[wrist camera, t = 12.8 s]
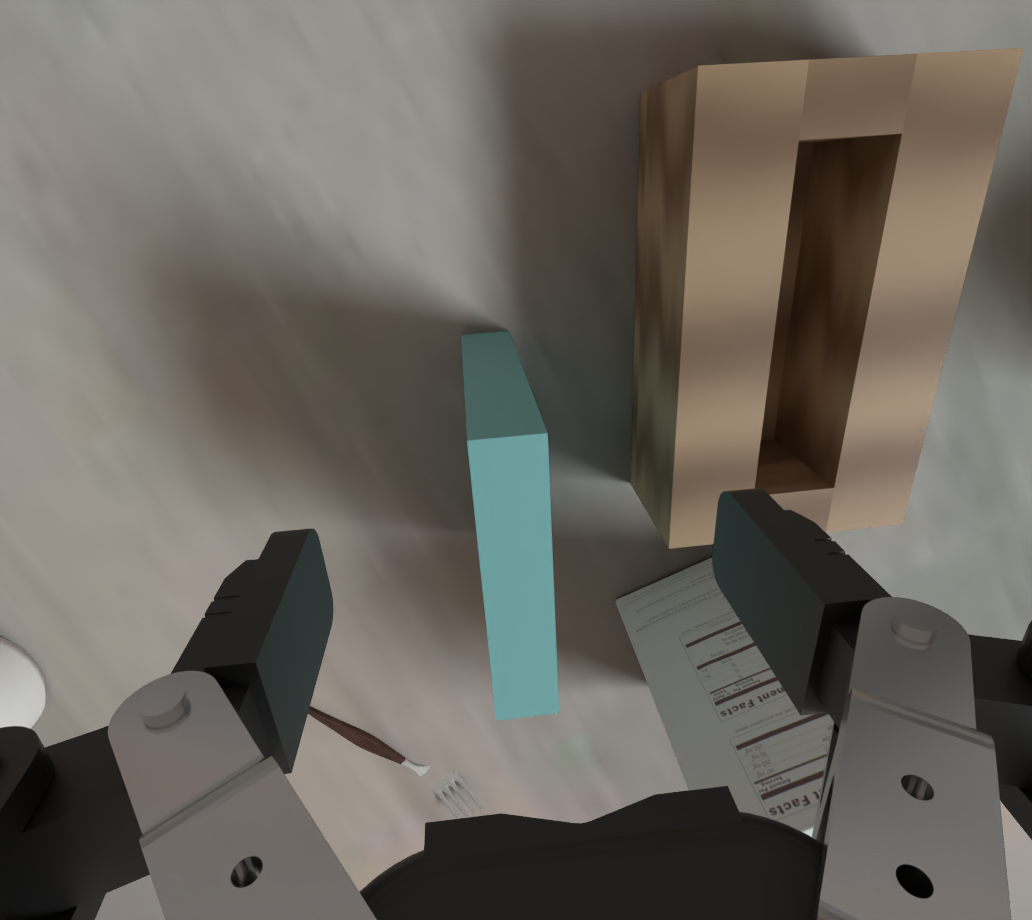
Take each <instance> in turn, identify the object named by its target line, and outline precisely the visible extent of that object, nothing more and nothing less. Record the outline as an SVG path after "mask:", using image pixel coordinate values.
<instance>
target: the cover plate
mask: <svg viewBox="0 0 1032 920" xmlns="http://www.w3.org/2000/svg"><path fill="white" fill-rule="evenodd" d="M461 347H462V364H463V381H464V398H465V415H466V432H467V446H468V455H469V465H470V475H471V484H472V494H473V503H474V513H475V523H476V532H477V542H478V551H479V561H480V571H481V580H482V590H483V600H484V609H485V619H486V628H487V638H488V648H489V657H490V667H491V676H492V686H493V696H494V705H495V715H496V721H498V720H506V719H514V718H522V717H530V716H539V715H547V714H555V713H559V698H558V674H557V649H556V625H555V600H554V576H553V551H552V526H551V502H550V477H549V453H548V433H547V430H546V427H545V425H544V422H543V419H542V417H541V414H540V412H539V409H538V406H537V404H536V401H535V398H534V396H533V393H532V391H531V388H530V385H529V383H528V380H527V377H526V375H525V372H524V370H523V367H522V364H521V362H520V359H519V356H518V354H517V351H516V348H515V346H514V343H513V341H512V338H511V335H510V333H509V331H501V332H489V333H476V334H464V335H461Z"/></svg>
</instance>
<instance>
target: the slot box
mask: <svg viewBox="0 0 1032 920" xmlns="http://www.w3.org/2000/svg"><path fill="white" fill-rule="evenodd" d="M1022 51H1023V48H1014V49H995V50H977V51H958V52H940V53H922V54H903V55H885V56H866V57H848V58H830V59H811V60H793V61H774V62H756V63H738V64H719V65H701V66H696V67H694V68H692V69H690V70H688V71H686V72H683V73H681V74H679V75H677V76H675V77H673V78H671V79H668V80H666V81H664V82H662V83H660V84H658V85H656V86H653V87H651V88H649V89H647V90H645V91H643V92H641V101H640V139H639V177H638V215H637V253H636V291H635V329H634V367H633V405H632V444H631V482H630V484H631V485H632V487H633V489H634V490H635V492H636V494H637V496H638V497H639V499H640V501H641V502H642V504H643V506H644V507H645V509H646V511H647V513H648V514H649V516H650V518H651V519H652V521H653V523H654V524H655V526H656V528H657V529H658V531H659V533H660V535H661V536H662V538H663V540H664V541H665V543H666V545H667V546H668V548H669V549H672V548H681V547H691V546H700V545H710V544H713V543H714V534H715V524H716V515H717V506H718V500H719V497H720V494H721V493H722V492H724V491H732V490H743V489H754V488H762V489H764V490H765V491H766V492H767V493H768V494H769V495H770V496H771V497H772V498H773V499H774V500H775V501H776V502H777V503H778V504H779V505H780V506H781V507H782V508H783V509H784V510H792V511H794V512H796V513H798V514H800V515H802V516H804V517H806V518H808V519H810V520H812V521H813V522H815V523H816V524H817V525H818V526H819V527H820V528H821V529H822V530H823V531H824V532H833V531H842V530H851V529H861V528H870V527H880V526H889V525H899V524H902V523H903V519H904V515H905V512H906V508H907V504H908V500H909V496H910V492H911V488H912V484H913V480H914V476H915V472H916V468H917V464H918V460H919V456H920V453H921V449H922V445H923V441H924V437H925V433H926V429H927V425H928V421H929V417H930V413H931V409H932V405H933V401H934V397H935V393H936V390H937V386H938V382H939V378H940V374H941V370H942V366H943V362H944V358H945V354H946V350H947V346H948V342H949V338H950V334H951V331H952V327H953V323H954V319H955V315H956V311H957V307H958V303H959V299H960V295H961V291H962V287H963V283H964V279H965V275H966V272H967V268H968V264H969V260H970V256H971V252H972V248H973V244H974V240H975V236H976V232H977V228H978V224H979V220H980V216H981V212H982V209H983V205H984V201H985V197H986V193H987V189H988V185H989V181H990V177H991V173H992V169H993V165H994V161H995V157H996V153H997V150H998V146H999V142H1000V138H1001V134H1002V130H1003V126H1004V122H1005V118H1006V114H1007V110H1008V106H1009V102H1010V98H1011V94H1012V90H1013V87H1014V83H1015V79H1016V75H1017V71H1018V67H1019V63H1020V59H1021V55H1022Z"/></svg>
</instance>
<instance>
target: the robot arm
mask: <svg viewBox="0 0 1032 920" xmlns="http://www.w3.org/2000/svg"><path fill="white" fill-rule="evenodd" d="M712 566H713V572H714V576H715V580H716V582H717V585H718V587H719V588H720V590H721V591H722V593H723V595H724V596H725V598H726V599H727V601H728V602H729V604H730V606H731V607H732V609H733V610H734V612H735V613H736V615H737V617H738V618H739V620H740V621H741V623H742V624H743V626H744V628H745V629H746V631H747V632H748V634H749V635H750V637H751V638H752V640H753V642H754V643H755V645H756V646H757V648H758V649H759V651H760V653H761V654H762V656H763V657H764V659H765V660H766V662H767V664H768V665H769V667H770V668H771V670H772V671H773V673H774V675H775V676H776V678H777V679H778V681H779V682H780V684H781V686H782V687H783V689H784V690H785V692H786V693H787V695H788V696H789V698H790V700H791V701H792V703H793V704H794V706H795V707H796V709H797V711H798V712H799V714H800V715H801V716H802V715H811V714H819V713H828V714H829V715H830V717H831V718H832V720H833V721H834V724H833V727H832V731H831V735H830V741H829V746H828V752H827V757H826V763H825V768H824V774H823V779H822V785H821V790H820V796H819V801H818V807H817V812H816V818H815V823H814V828H813V833H812V837H811V836H809V835H807V834H805V833H803V832H801V831H799V830H797V829H795V828H793V827H791V826H789V825H786V824H784V823H781V822H778V821H775V820H773V819H770V818H767V817H763V816H759V815H755V814H751V813H746V812H739V810H738V808H737V805H736V803H735V801H734V799H733V797H732V794H731V792H730V790H729V788H728V786H721V787H713V788H705V789H697V790H689V791H681V792H673V793H665V794H656V795H653V796H651V797H648V798H646V799H643V800H641V801H639V802H636V803H634V804H631V805H629V806H626V807H624V808H622V809H619V810H617V811H614V812H612V813H609V814H607V815H605V816H602V817H600V818H597V819H595V820H592V821H590V822H586V823H580V824H579V823H569V822H561V821H553V820H546V819H538V818H531V817H523V816H516V815H508V814H494V815H486V816H478V817H470V818H461V819H453V820H445V821H437V822H429V823H425V845H424V850H423V851H421V852H418V853H416V854H413V855H411V856H409V857H407V858H406V859H404V860H402V861H400V862H398V863H396V864H395V865H393V866H392V867H390V868H389V869H387V870H386V871H384V872H383V873H382V874H380V875H379V876H377V877H376V878H375V879H374V880H373V881H371V882H370V883H369V884H368V885H367V886H366V887H365V888H363V889H362V890H361V891H360V892H359V891H358V889H357V888H356V886H355V885H354V883H353V882H352V880H351V878H350V877H349V875H348V874H347V872H346V871H345V869H344V867H343V866H342V864H341V863H340V861H339V860H338V858H337V856H336V855H335V853H334V852H333V850H332V849H331V847H330V845H329V844H328V842H327V841H326V839H325V838H324V836H323V834H322V833H321V831H320V830H319V828H318V827H317V825H316V823H315V822H314V820H313V819H312V817H311V816H310V814H309V812H308V811H307V809H306V808H305V806H304V805H303V803H302V801H301V800H300V798H299V797H298V795H297V794H296V792H295V790H294V789H293V787H292V786H291V784H290V783H289V781H288V779H287V778H286V776H285V775H284V774H287V773H292V769H293V765H294V762H295V758H296V754H297V751H298V747H299V743H300V740H301V736H302V732H303V729H304V725H305V721H306V718H307V714H308V710H309V707H310V703H311V699H312V696H313V692H314V688H315V685H316V681H317V677H318V674H319V670H320V666H321V663H322V659H323V655H324V652H325V648H326V644H327V641H328V637H329V633H330V630H331V626H332V620H333V598H332V592H331V588H330V583H329V579H328V575H327V571H326V566H325V562H324V558H323V553H322V549H321V545H320V541H319V537H318V534H317V532H316V531H315V529H302V530H291V531H280V532H274V533H272V534H271V536H270V538H269V540H268V542H267V544H266V546H265V548H264V550H263V552H262V554H261V556H260V557H259V559H256V560H246V561H245V562H243V563H242V564H241V565H240V566H239V567H238V568H236V569H235V570H234V571H233V572H232V573H231V574H229V575H228V576H227V577H226V578H225V579H224V581H223V583H222V585H221V586H220V588H219V590H218V592H217V593H216V595H215V597H214V602H211V604H210V606H209V607H208V609H207V611H206V613H205V618H202V620H201V621H200V623H199V625H198V627H197V628H196V630H195V632H194V634H193V636H192V637H191V639H190V641H189V643H188V644H187V646H186V648H185V650H184V651H183V653H182V655H181V657H180V658H179V660H178V662H177V664H176V665H175V667H174V669H173V671H172V672H171V674H169V675H166V676H164V677H161V678H159V679H156V680H154V681H152V682H150V683H148V684H147V685H145V686H143V687H142V688H140V689H139V690H137V691H136V692H134V693H133V694H132V695H131V696H129V697H128V698H127V699H126V700H125V701H124V702H123V703H122V704H121V705H120V706H119V708H118V709H117V710H116V711H115V713H114V715H113V716H112V718H111V720H110V723H109V726H106V727H104V728H101V729H98V730H96V731H93V732H90V733H87V734H84V735H81V736H78V737H75V738H72V739H69V740H66V741H63V742H60V743H57V744H54V745H51V746H48V747H45V748H44V746H43V744H42V743H41V741H40V739H39V737H38V736H37V734H36V733H35V732H34V731H33V730H31V729H30V728H27V727H23V726H9V727H3V728H0V920H95V917H96V915H97V913H98V910H99V908H100V906H101V903H102V901H103V899H104V896H105V894H106V893H107V892H110V891H112V890H114V889H117V888H119V887H121V886H124V885H126V884H128V883H131V882H133V881H135V880H138V879H140V878H142V877H145V876H147V875H150V876H151V878H152V881H153V884H154V887H155V890H156V893H157V896H158V899H159V902H160V905H161V908H162V911H163V914H164V917H165V920H1011V911H1010V900H1009V890H1008V879H1007V870H1006V858H1005V848H1004V838H1003V827H1002V817H1001V806H1000V801H1001V802H1002V803H1003V804H1004V806H1005V807H1006V808H1007V809H1008V811H1009V812H1010V813H1011V814H1012V816H1013V817H1014V818H1015V819H1016V821H1017V822H1018V823H1019V824H1020V826H1021V827H1022V828H1023V829H1024V831H1025V832H1026V833H1027V834H1028V836H1029V837H1030V838H1031V839H1032V621H1031V622H1030V624H1029V626H1028V628H1027V630H1026V633H1025V635H1024V638H1023V640H1022V641H1017V640H1009V639H1000V638H992V637H984V636H975V635H968V634H967V632H966V631H965V629H964V628H963V627H962V626H961V625H960V624H959V623H958V622H957V621H956V620H955V619H953V618H952V617H951V616H949V615H948V614H946V613H945V612H943V611H941V610H939V609H937V608H935V607H933V606H930V605H928V604H925V603H922V602H919V601H916V600H911V599H907V598H899V597H892V596H891V595H889V594H888V593H887V592H886V591H885V590H884V589H883V588H882V587H881V586H880V585H879V584H878V583H877V582H876V581H875V580H874V579H873V578H872V577H871V576H870V575H869V574H868V573H867V572H866V571H865V570H864V569H863V568H862V567H861V566H860V565H859V564H857V563H856V562H855V561H854V560H853V559H852V558H851V557H850V556H849V555H845V551H844V550H843V549H842V548H841V547H840V546H839V545H838V544H837V543H836V542H835V541H831V537H830V536H829V535H828V534H827V533H825V532H824V531H823V530H822V529H821V528H820V527H819V526H818V525H817V524H816V523H815V522H813V521H812V520H810V519H808V518H806V517H804V516H802V515H800V514H798V513H796V512H794V511H792V510H784V509H783V508H782V507H781V506H780V505H779V504H778V503H777V502H776V501H775V500H774V499H773V498H772V497H771V496H770V495H769V494H768V493H767V492H766V491H765V490H764V489H762V488H754V489H743V490H732V491H724V492H722V493H721V494H720V497H719V500H718V506H717V515H716V524H715V534H714V543H713V552H712Z"/></svg>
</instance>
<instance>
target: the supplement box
mask: <svg viewBox="0 0 1032 920" xmlns="http://www.w3.org/2000/svg"><path fill="white" fill-rule="evenodd" d="M616 605H617V607H618V610H619V613H620V615H621V618H622V621H623V623H624V626H625V628H626V631H627V633H628V636H629V638H630V641H631V643H632V646H633V649H634V651H635V654H636V656H637V659H638V661H639V664H640V666H641V669H642V671H643V674H644V676H645V679H646V682H647V684H648V687H649V689H650V692H651V694H652V697H653V699H654V702H655V705H656V707H657V710H658V712H659V715H660V717H661V720H662V723H663V725H664V728H665V730H666V733H667V735H668V738H669V740H670V743H671V746H672V748H673V751H674V753H675V756H676V758H677V761H678V763H679V766H680V769H681V771H682V774H683V776H684V779H685V781H686V784H687V786H688V789H689V790H697V789H705V788H713V787H721V786H728V788H729V790H730V792H731V794H732V797H733V799H734V801H735V803H736V805H737V808H738V810H739V812H746V813H751V814H755V815H759V816H763V817H767V818H770V819H773V820H775V821H778V822H781V823H784V824H786V825H789V826H791V827H793V828H795V829H797V830H799V831H801V832H803V833H805V834H807V835H809V836H811V837H812V833H813V828H814V823H815V818H816V812H817V807H818V801H819V796H820V790H821V785H822V779H823V774H824V768H825V763H826V757H827V752H828V746H829V741H830V735H831V731H832V727H833V724H834V721H833V720H832V718H831V717H830V715H829V714H828V713H819V714H811V715H802V716H801V715H800V714H799V712H798V711H797V709H796V707H795V706H794V704H793V703H792V701H791V700H790V698H789V696H788V695H787V693H786V692H785V690H784V689H783V687H782V686H781V684H780V682H779V681H778V679H777V678H776V676H775V675H774V673H773V671H772V670H771V668H770V667H769V665H768V664H767V662H766V660H765V659H764V657H763V656H762V654H761V653H760V651H759V649H758V648H757V646H756V645H755V643H754V642H753V640H752V638H751V637H750V635H749V634H748V632H747V631H746V629H745V628H744V626H743V624H742V623H741V621H740V620H739V618H738V617H737V615H736V613H735V612H734V610H733V609H732V607H731V606H730V604H729V602H728V601H727V599H726V598H725V596H724V595H723V593H722V591H721V590H720V588H719V587H718V585H717V582H716V580H715V576H714V572H713V566H712V558H709V559H707V560H705V561H703V562H700V563H698V564H696V565H694V566H691V567H689V568H687V569H685V570H682V571H680V572H678V573H676V574H673V575H671V576H669V577H667V578H664V579H662V580H660V581H658V582H655V583H653V584H651V585H648V586H646V587H644V588H642V589H639V590H637V591H635V592H633V593H630V594H628V595H626V596H623V597H621V598H619V599H617V600H616Z"/></svg>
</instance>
